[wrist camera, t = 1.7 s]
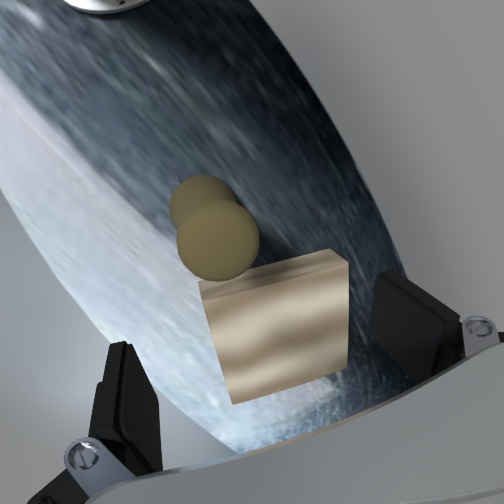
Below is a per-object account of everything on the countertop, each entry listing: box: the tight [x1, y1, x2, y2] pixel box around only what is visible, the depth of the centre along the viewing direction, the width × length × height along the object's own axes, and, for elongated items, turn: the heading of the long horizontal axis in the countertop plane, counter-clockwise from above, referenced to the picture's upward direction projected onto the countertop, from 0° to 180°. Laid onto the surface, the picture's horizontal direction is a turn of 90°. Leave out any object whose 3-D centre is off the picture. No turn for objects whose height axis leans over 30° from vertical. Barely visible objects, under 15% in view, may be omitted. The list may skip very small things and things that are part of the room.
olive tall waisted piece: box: [170, 175, 260, 282], centre depth 23 cm, size 6×6×11 cm
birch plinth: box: [198, 249, 349, 405], centre depth 33 cm, size 14×14×4 cm
